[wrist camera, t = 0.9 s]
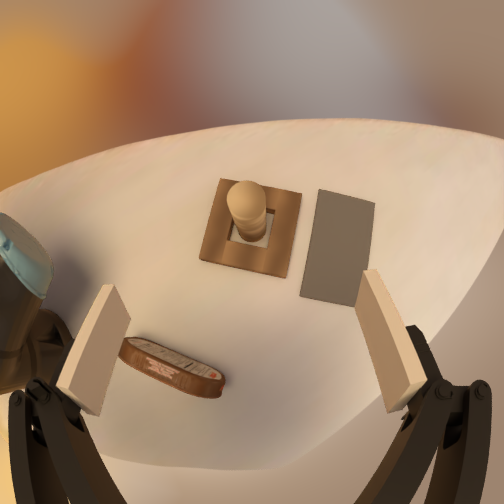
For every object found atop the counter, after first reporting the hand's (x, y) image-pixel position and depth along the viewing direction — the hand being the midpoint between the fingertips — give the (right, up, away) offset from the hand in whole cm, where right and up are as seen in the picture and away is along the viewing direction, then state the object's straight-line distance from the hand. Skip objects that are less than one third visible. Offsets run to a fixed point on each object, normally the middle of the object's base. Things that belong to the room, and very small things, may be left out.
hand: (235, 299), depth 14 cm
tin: (-10, -13, +23) cm, 29 cm away
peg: (+1, +6, +26) cm, 27 cm away
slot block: (+1, +6, +26) cm, 27 cm away
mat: (+14, +3, +25) cm, 28 cm away
